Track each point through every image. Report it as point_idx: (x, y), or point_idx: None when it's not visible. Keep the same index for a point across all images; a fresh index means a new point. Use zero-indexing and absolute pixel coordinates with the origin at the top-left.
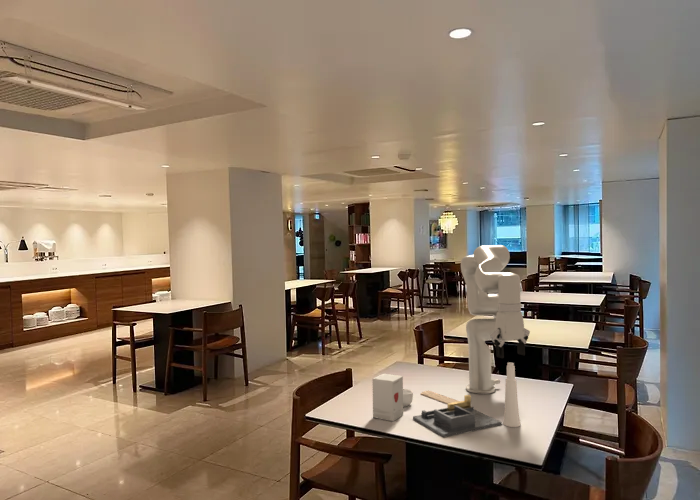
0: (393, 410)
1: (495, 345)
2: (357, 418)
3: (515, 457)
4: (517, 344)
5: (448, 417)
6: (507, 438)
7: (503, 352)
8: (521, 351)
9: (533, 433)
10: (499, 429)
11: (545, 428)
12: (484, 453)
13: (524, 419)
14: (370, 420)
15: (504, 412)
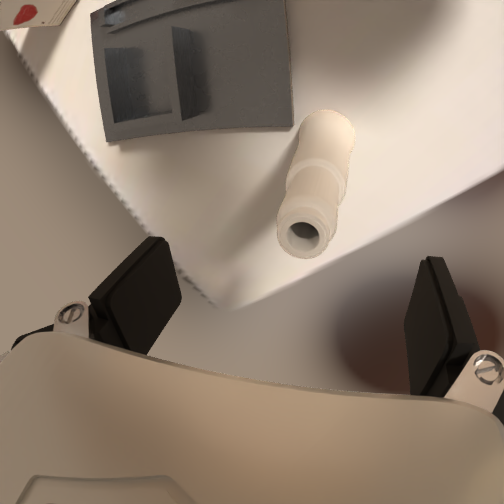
0: (41, 25)
1: (73, 314)
2: None
3: (199, 282)
4: (443, 336)
5: (107, 119)
6: (242, 209)
7: (157, 332)
8: (412, 329)
9: None
10: (262, 151)
11: (388, 212)
12: None
13: (395, 127)
14: None
15: (303, 130)
